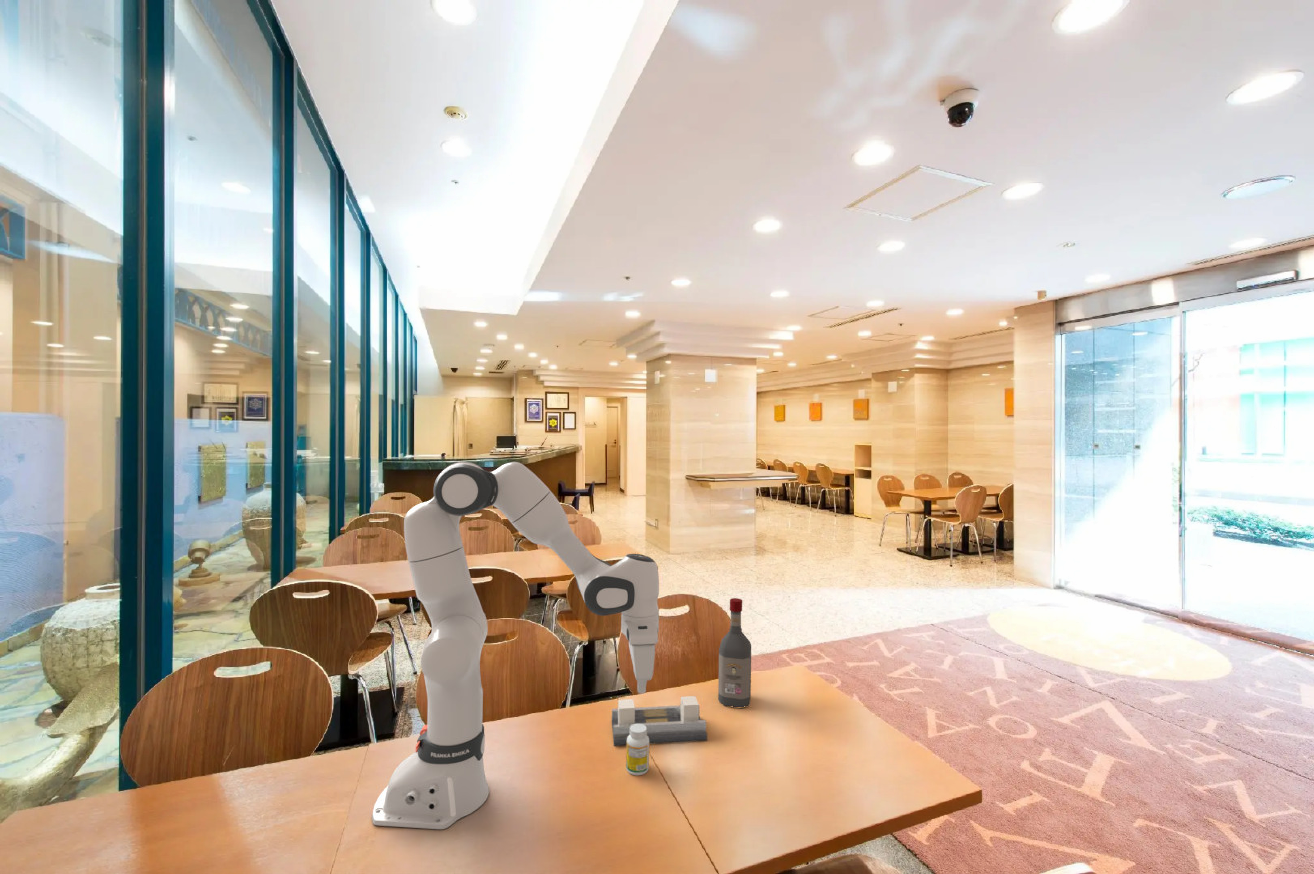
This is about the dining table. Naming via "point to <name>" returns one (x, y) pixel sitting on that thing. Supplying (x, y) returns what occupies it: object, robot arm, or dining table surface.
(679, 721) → the rail
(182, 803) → the dining table surface
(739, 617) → the liquor
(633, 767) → the supplement bottle
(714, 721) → the dining table surface
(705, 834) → the dining table surface
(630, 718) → the rail posts
